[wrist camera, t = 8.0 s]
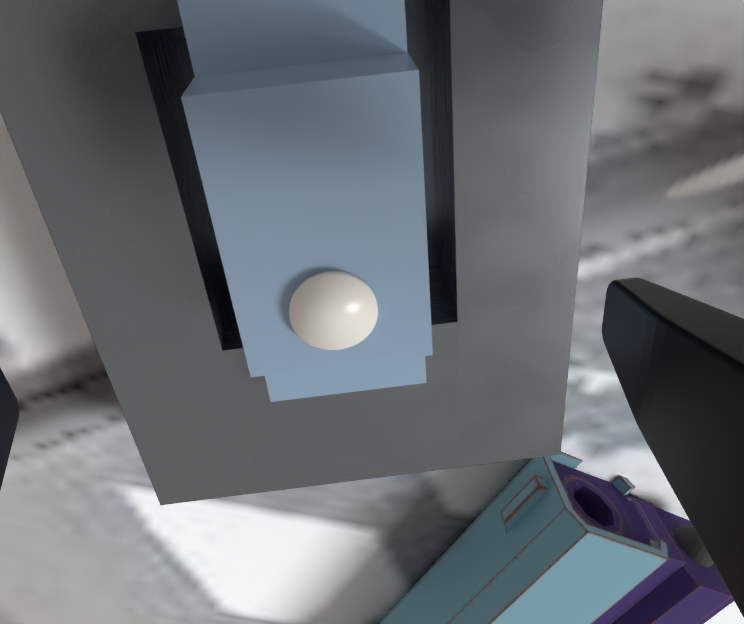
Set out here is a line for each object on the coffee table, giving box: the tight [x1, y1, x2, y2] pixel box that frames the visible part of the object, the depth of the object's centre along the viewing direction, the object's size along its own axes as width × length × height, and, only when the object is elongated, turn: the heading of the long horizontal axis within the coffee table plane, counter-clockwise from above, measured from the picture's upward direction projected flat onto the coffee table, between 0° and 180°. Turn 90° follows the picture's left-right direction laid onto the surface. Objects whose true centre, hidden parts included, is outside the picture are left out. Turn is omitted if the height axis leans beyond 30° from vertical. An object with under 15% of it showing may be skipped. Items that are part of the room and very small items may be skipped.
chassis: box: [0, 0, 603, 505], centre depth 16 cm, size 12×18×3 cm, turn 5°
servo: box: [177, 0, 433, 402], centre depth 14 cm, size 4×10×5 cm, turn 5°
